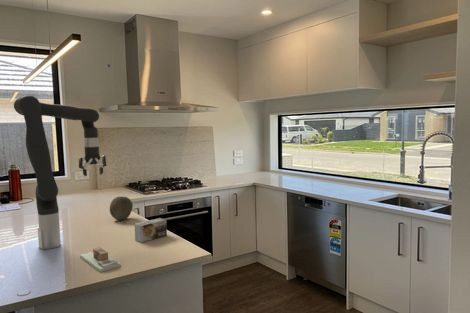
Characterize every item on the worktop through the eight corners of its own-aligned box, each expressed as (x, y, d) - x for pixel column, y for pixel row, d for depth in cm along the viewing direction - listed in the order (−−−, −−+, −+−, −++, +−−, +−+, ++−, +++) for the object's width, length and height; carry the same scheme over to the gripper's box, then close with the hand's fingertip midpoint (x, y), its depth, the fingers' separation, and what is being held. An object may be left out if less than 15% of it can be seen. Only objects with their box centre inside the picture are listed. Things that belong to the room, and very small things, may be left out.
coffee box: (134, 240, 184) (160, 233, 195) (141, 242, 179) (167, 235, 191) (134, 223, 183) (160, 217, 195) (140, 225, 179) (166, 219, 190)
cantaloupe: (133, 221, 220) (132, 198, 219) (109, 223, 216) (108, 199, 215) (133, 216, 234) (132, 194, 232) (110, 217, 230) (109, 195, 228)
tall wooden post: (90, 258, 156) (89, 249, 156) (103, 255, 160) (103, 246, 160) (103, 268, 145) (103, 258, 145) (117, 264, 149) (117, 255, 149)
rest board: (99, 272, 144) (99, 269, 144) (80, 257, 161) (80, 254, 161) (120, 266, 150) (120, 263, 150) (99, 252, 167) (99, 249, 167)
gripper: (101, 145, 200) (103, 173, 201) (75, 146, 190) (77, 175, 192) (107, 145, 194) (108, 174, 196) (80, 147, 185) (82, 177, 186)
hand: (93, 175), depth 194 cm, fingers open, 8 cm apart
